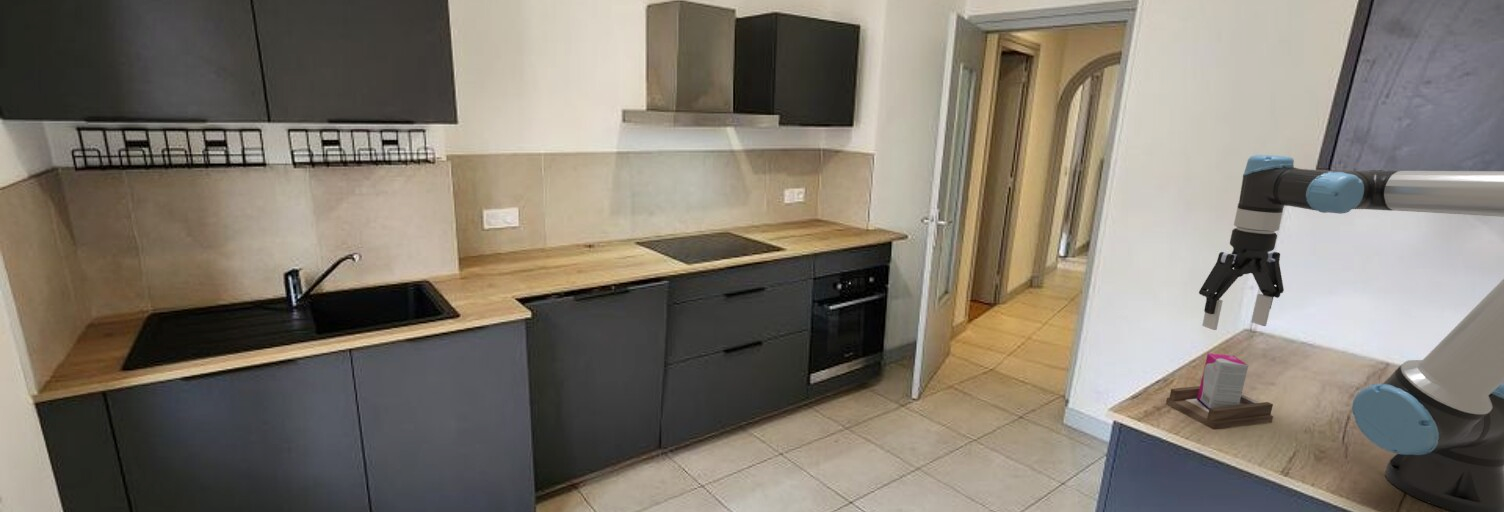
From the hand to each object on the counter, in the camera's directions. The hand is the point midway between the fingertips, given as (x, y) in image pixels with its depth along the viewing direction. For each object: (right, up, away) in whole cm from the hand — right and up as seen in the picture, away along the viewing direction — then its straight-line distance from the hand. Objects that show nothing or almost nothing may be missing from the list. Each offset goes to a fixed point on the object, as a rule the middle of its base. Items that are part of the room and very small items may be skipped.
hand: (1234, 326), depth 139 cm
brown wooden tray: (0, -20, +5) cm, 21 cm away
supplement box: (-1, -19, +5) cm, 19 cm away
